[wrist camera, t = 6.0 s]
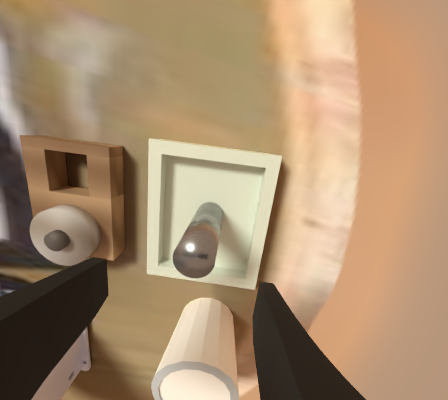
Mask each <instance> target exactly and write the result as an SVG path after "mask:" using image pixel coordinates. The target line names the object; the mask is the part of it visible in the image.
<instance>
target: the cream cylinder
mask: <svg viewBox="0 0 448 400" xmlns="http://www.w3.org/2000/svg"><path fill="white" fill-rule="evenodd" d="M151 388H152V394H153V397H154V399H155V400H239V396H238V378H237V365H236V351H235V338H234V324H233V315H232V313H231V311H230V309H229V308H228V307H227V306H226V305H225V304H223V303H222V302H221V301H218V300H215V299H213V298H199V299H196V300H193V301H191V302H190V303H189V304H187V305H186V306H185V308H184V310H183V312H182V315H181V317H180V319H179V321H178V324H177V326H176V328H175V330H174V333H173V335H172V337H171V340H170V342H169V344H168V346H167V349H166V351H165V353H164V355H163V358H162V360H161V362H160V364H159V367H158V369H157V371H156V373H155V376H154V379H153V381H152V384H151Z"/></svg>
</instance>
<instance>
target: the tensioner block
mask: <svg viewBox="0 0 448 400" xmlns="http://www.w3.org/2000/svg"><path fill="white" fill-rule="evenodd" d="M20 139H21V145H22V151H23V158H24V164H25V170H26V176H27V182H28V188H29V194H30V200H31V207H32V213H33V220H32V222H31V225H30V236H31V239H32V242H33V244H34V246H35V247H36V249H37V250H38V251H39V252H40V253H41V254H42V255H43V256H44V257H45V258H47V259H48V260H50V261H52V262H54V263H57V264H60V265H66V266H71V265H76V264H78V263H80V262H82V261H84V260H85V259H86V258H87V257H91V258H93V257H96V258H103V259H107V260H112V261H114V260H115V259H116V258H117V257H118V256H119V255H120V254H121V253H122V252H123V251H124V250H125V221H124V175H123V146H117V145H110V144H102V143H95V142H87V141H80V140H72V139H65V138H57V137H50V136H26V135H20ZM65 152H69V153H76V154H84V155H87V169H88V182H89V189H88V188H81V187H74V186H69V185H68V176H67V166H66V156H65Z"/></svg>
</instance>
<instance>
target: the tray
mask: <svg viewBox="0 0 448 400" xmlns="http://www.w3.org/2000/svg"><path fill="white" fill-rule="evenodd" d="M281 160H282V156H280V155H278V154H271V153H264V152H256V151H248V150H241V149H233V148H226V147H218V146H210V145H203V144H195V143H188V142H180V141H172V140H165V139H149V163H148V231H147V274H153V275H159V276H166V277H173V278H179V279H186V280H193V281H199V282H206V283H213V284H219V285H226V286H232V287H239V288H246V289H252V290H255V287H256V282H257V277H258V272H259V267H260V262H261V257H262V253H263V248H264V243H265V238H266V233H267V228H268V223H269V218H270V213H271V208H272V204H273V199H274V194H275V189H276V184H277V179H278V174H279V169H280V164H281ZM206 202H213V203H216V204H218V205H219V206H220V207H221V208H222V210H223V213H224V217H223V223H222V228H221V234H220V239H219V244H218V250H217V255H216V260H215V265H214V268H213V270H212V271H211V272H210V273H209V274H208V275H207V276H205V277H202V278H189V277H186V276H184V275H182V274H181V273H180V272H179V271H178V270H177V269H176V268H175V266H174V264H173V253H174V250H175V249H176V247H177V245H178V243H179V241H180V240H181V238H182V236H183V234H184V233H185V231H186V229H187V227H188V226H189V224H190V222H191V220H192V218H193V217H194V215H195V213H196V211H197V210H198V208H199V207H200V206H201V205H202V204H204V203H206Z"/></svg>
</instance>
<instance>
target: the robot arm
mask: <svg viewBox="0 0 448 400" xmlns="http://www.w3.org/2000/svg"><path fill="white" fill-rule="evenodd" d="M107 296H108V277H107V259H103V258H96V257H93V258H90V259H88V260H85V261H83V262H80V263H78V264H76V265H74V266H71V267H69V268H67V269H65V270H62V271H60V272H58V273H56V274H53V275H51V276H49V277H47V278H44V279H42V280H40V281H37V282H35V283H33V284H30V285H28V286H25V287H23V288H21V289H18V290H16V291H13V292H11V293H8V294H6V295H4V296H1V297H0V400H61V399H62V397H63V396H64V394H65V393H66V391H67V390H68V388H69V387H70V385H71V384H72V382H73V381H74V379H75V378H76V376H77V375H78V373H79V372H80V371H81V370H82V371H88V370H89V369H90V368H91V361H90V350H89V340H88V330H87V326H88V325H89V324H90V322H91V321H92V320H93V318H94V317H95V316H96V314H97V313H98V311H99V309H100V308H101V306H102V305H103V303H104V301H105V300H106V298H107ZM253 344H254V352H255V360H256V368H257V376H258V384H259V391H260V399H261V400H366V399H365V398H364V397H363V396H362V395H361V394H360V393H359V392H358V391H357V390H356V389H355V388H354V387H353V386H352V385H351V384H350V383H349V382H348V381H347V380H346V379H345V378H344V377H343V375H342V374H341V373H340V372H339V371H338V370H337V369H336V368H335V366H334V365H333V364H332V363H331V362H330V361H329V360H328V358H327V357H326V356H325V355H324V354H323V352H322V351H321V350H320V349H319V348H318V346H317V345H316V344H315V343H314V341H313V340H312V339H311V337H310V336H309V335H308V333H307V332H306V331H305V329H304V328H303V327H302V325H301V324H300V323H299V321H298V320H297V318H296V317H295V315H294V314H293V313H292V311H291V310H290V308H289V307H288V305H287V304H286V302H285V301H284V299H283V298H282V296H281V294H280V293H279V291H278V290H277V288H276V287H275V285H274V284H273V283H266V282H260V284H259V289H258V294H257V298H256V303H255V308H254V313H253Z"/></svg>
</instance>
